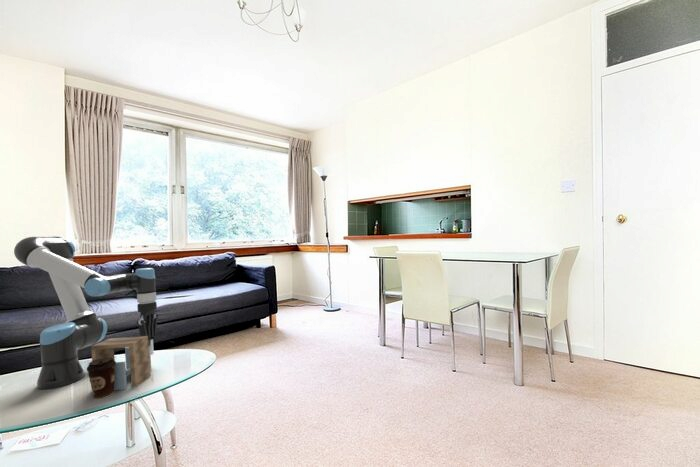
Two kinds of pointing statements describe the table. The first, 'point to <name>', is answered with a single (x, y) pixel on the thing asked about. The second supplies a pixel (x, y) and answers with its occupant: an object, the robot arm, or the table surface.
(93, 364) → the coffee cup
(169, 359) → the table surface
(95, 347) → the tunnel
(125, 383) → the plunger
